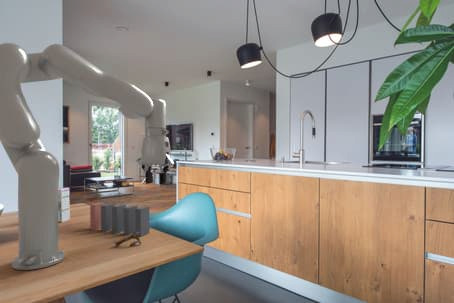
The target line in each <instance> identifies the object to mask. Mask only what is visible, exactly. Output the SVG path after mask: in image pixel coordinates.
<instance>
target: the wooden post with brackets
mask: <svg viewBox="0 0 454 303" xmlns="http://www.w3.org/2000/svg"><path fill="white" fill-rule="evenodd" d="M138 234H139V232H136V233H135V232H134V233H133V234H131V235H128V236H127V237H124V238H123V239H121V240H118V241H117V240H116V241H114V245H115V246H116V248H119V246H120V245H122V244H123V243H125V242H127V241H130V240H131V239H135V240H136V241H134V240H133V242H131V243H130V244H129V246H130V247H131V246H132V247H134V246H136V244H137V243H138V244H139V245H141V244H142V241H141V239H140V237H138V236H137V235H138Z"/></svg>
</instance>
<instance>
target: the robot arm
mask: <svg viewBox="0 0 454 303" xmlns="http://www.w3.org/2000/svg"><path fill="white" fill-rule="evenodd" d="M59 79H63V80H64V81H66V82H68V83H70V84H71V85H73V86H74V87H77V88H78V89H80V90H81V91H83V92H85V93H86V94H89V95H90V96H93V97H97V98H102V99H103V98H104V99H108V100H111V101H114V102H116V103H118V104H120V106H119V112H120V113H121V114H122V115H123V117H125V118H127V119H130V120H134V119H135V120H136V119H144V137H143V139H142V144H141V145H142V146H141V157H140V159H139V161H137V162H138V165H139V167H141V169H142V170H143V172H144V173H145V184H146V185H148V184H153V182H154V180H153V179H154V178H153V176H154V174H153V171H152V169H153V166H158V167H159V171H160V173H158V183H159V185H166V183H167V182H166V181H167V174H168V172H169V170H170V169H171V168H172V167H173V166H174V165H175V163H174V162H175V161H173V159H172V153H171V145H170V139H169V137H167V134H169V133H170V132H169V129H167V104H166V100H164V99H161V98H151V97H150V96H149V95H148V94H147V93H145V92H144V91H143V90H141V89H139V88H138V87H137V86H135V85H133V84H132V83H130V82H128V81H126V80H125V79H122V78H120V77H117V76H115V75H112V74H110V73H108V72H105V71H103V70H102V69H100V68H98V67H97V66H96V65H94V64H92V63H91V62H89V61H88V60H87V59H85V58H84V57H82V56H81V55H79V54H78V53H76V52H74V51H73V50H71V49H70V48H69V47H66V46H65V45H62V44H61V43H60V44H59V43H53V44H50V45H48V46H47V47H45V49H44V50H43V51H42V52H35V53H34V52H33V53H28V52H27V51H26V50H25V48H23V47H22V46H20V45H18V44H15V43H11V42H4V43H0V143H1V145H2V147H3V149H4V150H5V153H6V154H7V157H8V158H9V160H10V162H11V164H12V166H13V168H14V170H15V172H16V173H17V177H18V178H17V179H18V181H17V186H18V187H17V209H18V210H17V215H18V223H17V224H18V257H16V258H14V259H13V260H12V262H11V267H12V268H13V269H15V270H17V271H18V270H19V271H30V270H32V271H33V270H38V269H43V268H47V267H50V266H54V265H57V264H58V263H60V262H61V261H63V260H64V259H65V257H66V256H65V255H66V253H65V251H63V250H60V249H59V247H60V245H59V243H60V242H59V240H60V239H59V236H60V235H59V222H58V188H59V185H60V165H59V162H58V160H57V157H56V156H55V155H53V154H52V153H51V152H48V151H47V150H46V147H45V145H44V143H43V141H42V139H41V137H40V136H41V128H40V125H39V124H38V122H37V119H35V116H34V115H33V113H32V111H31V109H30V107H29V105H28V103H27V100H26V98H25V96H24V93H23V90H22V87H21V86H22V85H21V84H27V83H36V82H37V83H38V82H46V81H52V80H59Z"/></svg>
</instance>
